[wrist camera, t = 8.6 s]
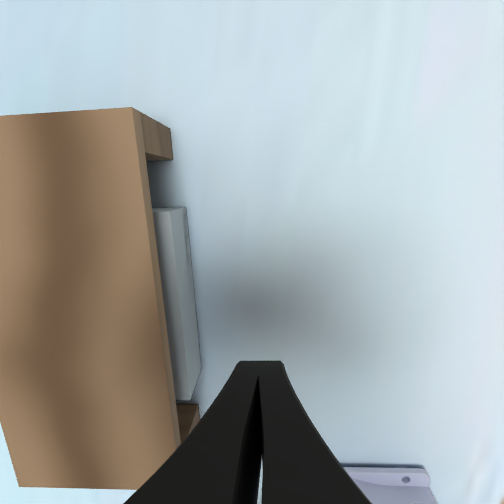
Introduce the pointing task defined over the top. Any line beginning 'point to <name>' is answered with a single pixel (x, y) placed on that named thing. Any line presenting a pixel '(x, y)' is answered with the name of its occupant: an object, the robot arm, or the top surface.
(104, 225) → the shelf
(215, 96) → the top surface
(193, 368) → the tray
